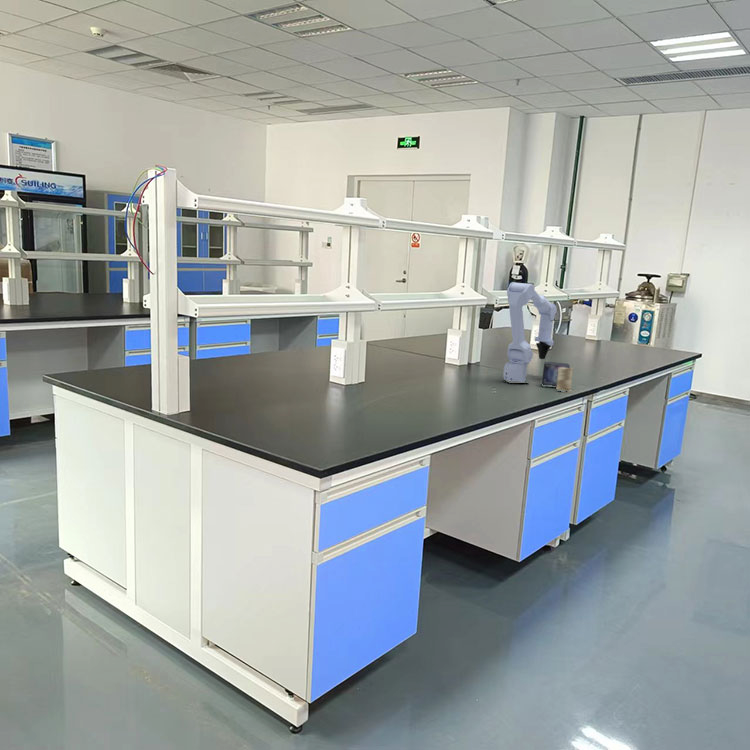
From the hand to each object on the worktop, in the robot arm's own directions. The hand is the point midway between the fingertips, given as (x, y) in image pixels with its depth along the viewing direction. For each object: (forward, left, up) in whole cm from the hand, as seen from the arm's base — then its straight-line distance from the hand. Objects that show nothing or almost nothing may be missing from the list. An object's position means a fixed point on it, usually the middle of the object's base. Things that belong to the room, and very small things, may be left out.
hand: (541, 358), depth 300 cm
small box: (-2, -18, -10) cm, 21 cm away
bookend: (-2, -26, -9) cm, 28 cm away
